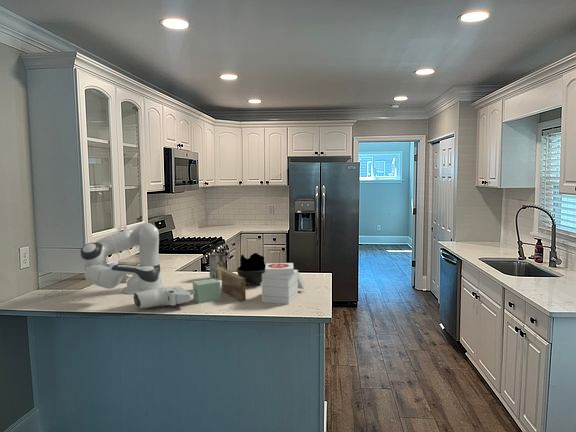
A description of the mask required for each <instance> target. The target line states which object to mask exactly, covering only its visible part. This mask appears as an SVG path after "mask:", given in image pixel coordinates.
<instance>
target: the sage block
mask: <svg viewBox="0 0 576 432" xmlns="http://www.w3.org/2000/svg"><path fill="white" fill-rule="evenodd" d="M192 290H194V291H195V294H192V300H193V301H195V302H196V303H198V304H199V303H200V304H205V302H206V303H210V302H211V301H212V302H217V301H221V283H220V280H215V279H210V278H207V279H201V280H193V281H192Z"/></svg>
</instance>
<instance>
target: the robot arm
mask: <svg viewBox="0 0 576 432" xmlns="http://www.w3.org/2000/svg"><path fill="white" fill-rule="evenodd" d="M138 245H139V246H138ZM159 245H160V231H159V229H158V228H157V227H156V226H155V225H154V224H152V223H150V222H143V223H140V224H137V225H136V226H132V227H129V228H127V229H125V230H122V231H119V232H115V233H112V234H108V235H106V236H104V237H102V238H100V239H98V240H96V241H95V242H89V243H86V244H84V245H83V246H82V247H81V249H80V256H81V258H82V262H83V265H84V266H85V268H86V269H85V271H84V278H85V280H86V281H87V282H89V283H90V284H92V285H94V286H97V287H101V288H104V289H108V290H111V289H114V288H116V287H118V286H119V285H120V284H121V281H122V278H123V276H124V274H126V275H128V276H129V275H131V276H129V277H130V278H129V279H127V281H126V282H127V283H126V286H125V287H123V288H122V292H123V293H124V294H127V295H130V294H131V295H132V294H133V302H134V305H135V306H136V308H139V309H148V308H154V307H157V306H169V305H170V306H176V305H177V304H184V303H188V302H190V301H191V300H192V296H193V294H195V291H194V290H193V289H184V288H183V287H182V286H180V285H176V286H172V287H171V286H166V287H164V286H163V283H162V279H161V265H160V256H159V255H160V253H159V251H160V250H159V249H160V248H159V247H160V246H159ZM136 246H138V255H139V257H138V258H139V261H138V262H139V265H138V264H126V263H118V264H117V265H114V266H113V267H108V264H107V261H106V260H107V257H108V255H111V254H112V255H114V254H117V253H120V252H121V253H122V252H124V251H127V250H130V249H132V248H135V247H136Z"/></svg>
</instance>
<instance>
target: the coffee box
mask: <svg viewBox="0 0 576 432" xmlns="http://www.w3.org/2000/svg"><path fill="white" fill-rule="evenodd" d="M226 259H227V258H226V253H222V252H218V253H214V254H209V255H208V260H209V261H208V263H209V266H208V267H209V279H215V280H217V281H220V280H222V273H221V270H227V264H226V262H227V260H226Z"/></svg>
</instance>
